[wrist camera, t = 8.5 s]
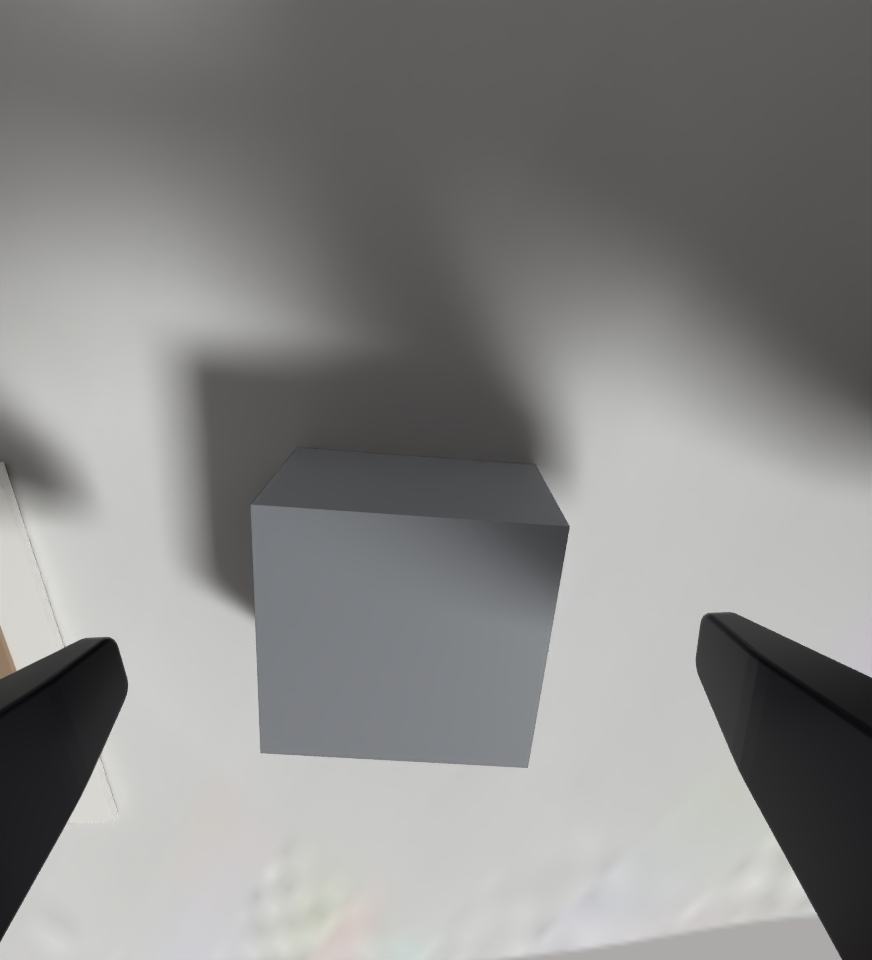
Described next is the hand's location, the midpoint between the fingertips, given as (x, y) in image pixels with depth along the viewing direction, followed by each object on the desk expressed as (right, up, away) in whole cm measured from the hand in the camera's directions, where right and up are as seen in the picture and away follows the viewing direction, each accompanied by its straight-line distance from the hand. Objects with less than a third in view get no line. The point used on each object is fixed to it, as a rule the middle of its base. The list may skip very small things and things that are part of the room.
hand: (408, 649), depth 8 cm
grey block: (0, +1, +3) cm, 3 cm away
